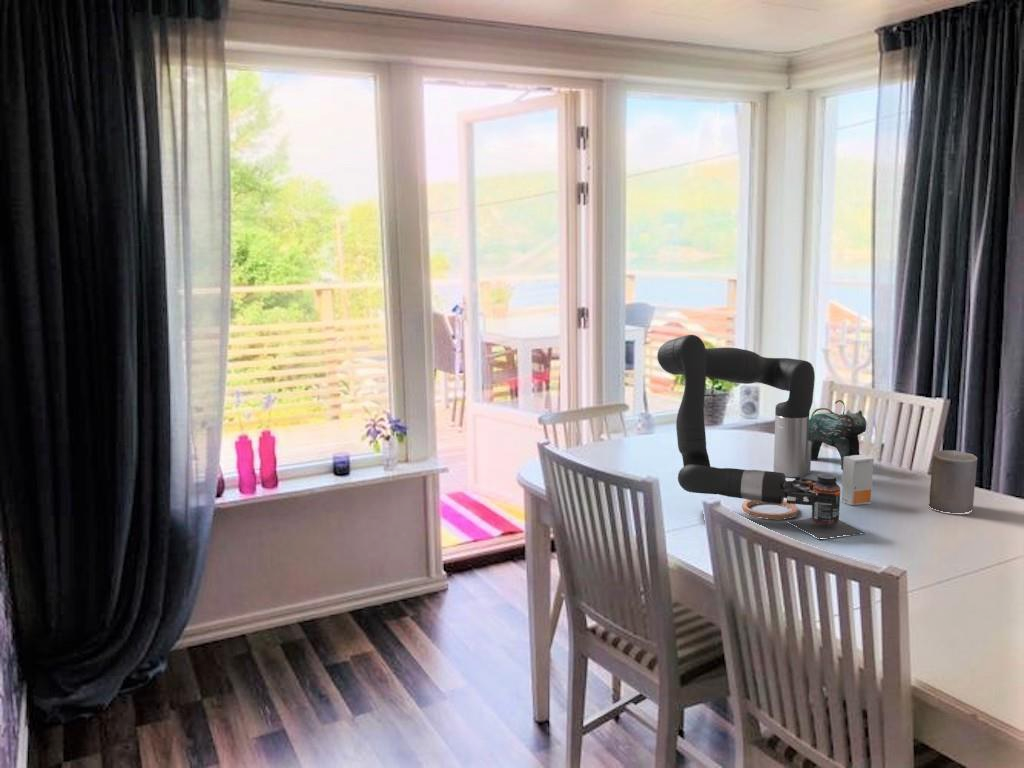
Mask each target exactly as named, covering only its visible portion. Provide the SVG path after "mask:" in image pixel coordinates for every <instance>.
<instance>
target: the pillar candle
mask: <svg viewBox="0 0 1024 768" xmlns="http://www.w3.org/2000/svg"><path fill="white" fill-rule="evenodd" d="M977 464H978V457H977V456H976V455H974V454H973V453H968V452H966V451H965V452H964V451H959V450H958V451H957V450H956V449H954V450H945V449H943V450H937V451H934V452H933V453H932V461H931V473H930V474H931V475H930V487H929V503H928V505H929V506H930V507H931V508H933V509H936V510H939V511H943V512H950V513H965V512H969V511H971V510H973V509H974V503H975V502H974V501H975V488H976V477H977V467H978V465H977ZM929 506H928V507H929ZM930 507H929V508H930ZM931 508H930V509H931ZM973 511H974V510H973Z"/></svg>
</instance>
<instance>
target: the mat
mask: <svg viewBox="0 0 1024 768" xmlns="http://www.w3.org/2000/svg"><path fill="white" fill-rule="evenodd" d="M788 522H789V523H791V524H793V525H795V526H797V527H798V528H800V529H802V530H804V531H806V532H808V533H810V534H812V535H814V536H815V537H817V538H819V539H820V538H830V537H837V536H843V535H853V534H860V533H865V531H863V530H862V529H859V528H857V527H856V526H853V525H851V524H850V523H846V522H845V521H843V520H840V519H839V522H838V523H837V524H835V525H830V526H826V525H820V524H817V523H815V522H813V520H812V517H811V518H804V519H795V520H789V521H787V523H788ZM789 523H788V524H789ZM798 528H797V529H798ZM800 529H799V530H800ZM860 535H861V534H860ZM853 536H854V535H853Z"/></svg>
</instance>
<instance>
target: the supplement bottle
mask: <svg viewBox="0 0 1024 768" xmlns="http://www.w3.org/2000/svg"><path fill="white" fill-rule="evenodd" d="M817 480H818V482H817V483H815V484H814V485H813V491H815V492H819V493H828V494H835V495H837V502H836V504H827V503H819V502H818V503H817V504H815V503H814V505H812V506H811V509H812V510H811V518H812V520H813V522H815V523H817V524H820V525H826V526H830V525H835V524H837V523H838V522H839V520H840V507H841V506H840V505H841V502H840V501H841V487H840V485H839V484H838V483H837V476H836V475H835V474H833V473H827V472H826V473H825V472H824V473H823V472H822V473H818V475H817Z"/></svg>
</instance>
